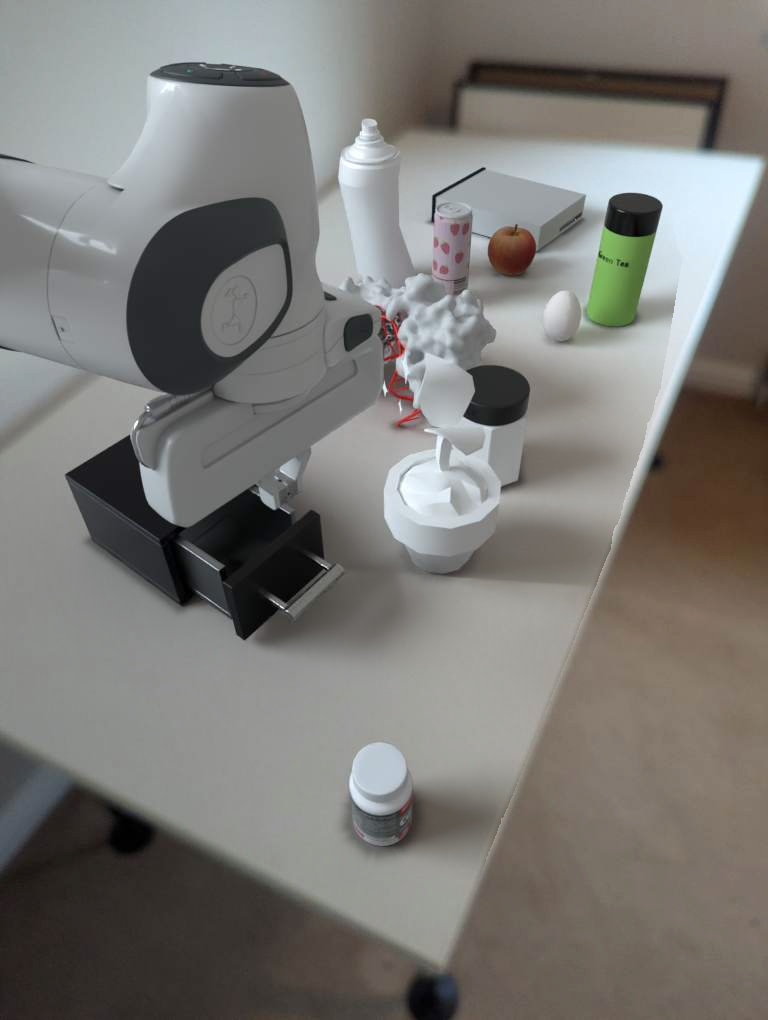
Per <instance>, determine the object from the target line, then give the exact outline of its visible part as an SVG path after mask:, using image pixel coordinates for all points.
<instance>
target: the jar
mask: <svg viewBox="0 0 768 1020" xmlns="http://www.w3.org/2000/svg"><path fill="white" fill-rule="evenodd" d="M466 372H467V373H469V374H470V375H472V378H473V383H474V388H475V393H474V395H473V397H472V399H471V401H470V403H469V405H468V407H467V409H466V411H465V413H464V415H463V416H462V418H461V420H460V422H459V423H458V425H455V426H452V427H482V428H483V430H484V432H485V440H484V445H483V448H482V449H480V450H478V451H476V452H474V453H472V454H470V455H472V456H474V457H476V458H478V459H480V460H482V461H484V462H486V463H488V464H489V466H490V467H491V468H492V470H493V471H494V473H495V474H496V476H497V477H498V479H499V480H500V482H501V487H504V486H506V485H509V484H512V483H515V482H517V481H518V480H519V477H520V476H519V475H520V469H521V463H522V456H523V450H524V444H525V437H526V431H527V425H528V408H529V402H530V397H531V385H530V382H529V380H528V379H527V378H526V377H525V376H524V375H523V374H522V373H520V372H519V371H517V370H515V369H513V368H510V367H507V366H503V365H498V364H497V365H495V364H485V365H484V364H482V366H477V367H473V368H471V369H468V370H466ZM451 450H455V451H460V450H459V449H458V448H456V447H455V446H454V445H453V444H452V447H451Z"/></svg>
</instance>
